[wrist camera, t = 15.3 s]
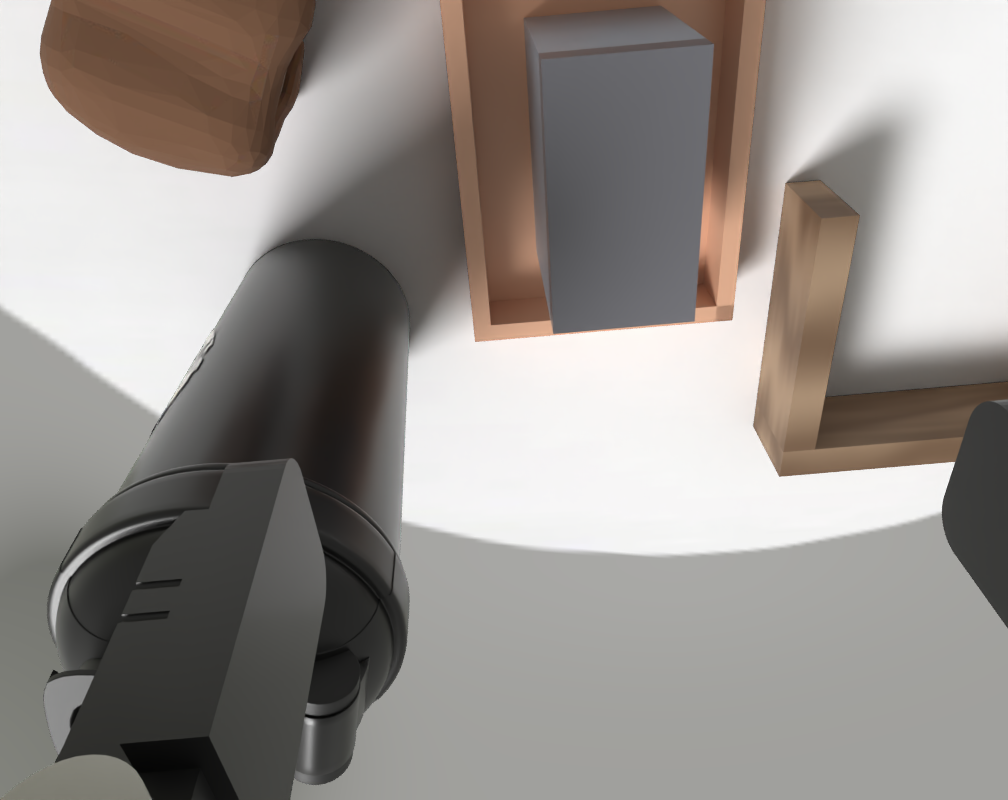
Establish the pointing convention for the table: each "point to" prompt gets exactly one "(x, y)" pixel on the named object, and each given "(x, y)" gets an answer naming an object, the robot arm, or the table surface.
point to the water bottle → (270, 436)
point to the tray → (508, 166)
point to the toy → (179, 75)
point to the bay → (808, 356)
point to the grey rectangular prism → (618, 164)
